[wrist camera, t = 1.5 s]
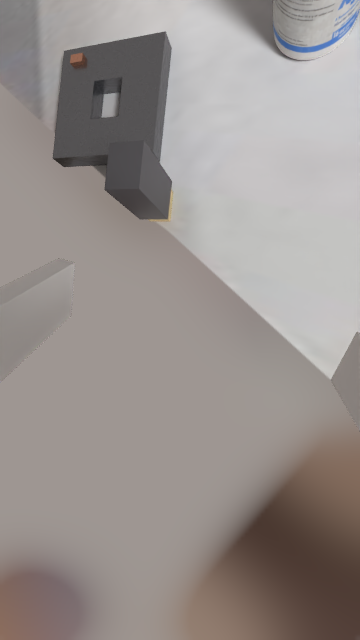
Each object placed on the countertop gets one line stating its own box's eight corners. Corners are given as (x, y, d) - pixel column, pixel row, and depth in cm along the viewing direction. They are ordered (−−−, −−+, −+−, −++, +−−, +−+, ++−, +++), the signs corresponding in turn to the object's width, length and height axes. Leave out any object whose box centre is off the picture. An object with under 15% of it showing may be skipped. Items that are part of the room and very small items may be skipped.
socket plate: (171, 48, 43) (164, 27, 40) (159, 161, 43) (151, 148, 40) (74, 64, 47) (61, 47, 44) (63, 167, 47) (49, 156, 44)
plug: (177, 188, 42) (144, 140, 31) (173, 225, 42) (138, 188, 31) (150, 189, 43) (109, 142, 32) (146, 224, 43) (104, 189, 32)
